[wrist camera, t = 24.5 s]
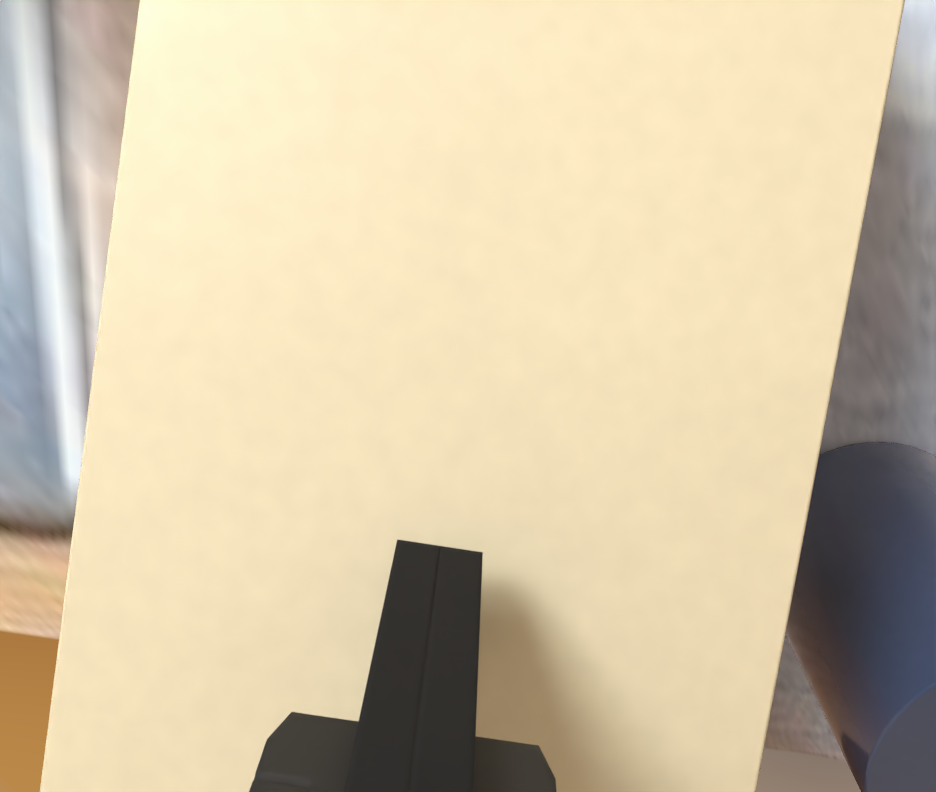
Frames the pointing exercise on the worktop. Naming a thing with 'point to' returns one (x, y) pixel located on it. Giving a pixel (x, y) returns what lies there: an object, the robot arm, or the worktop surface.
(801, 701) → the worktop surface
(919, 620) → the dark grey cylinder
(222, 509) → the bin lid
